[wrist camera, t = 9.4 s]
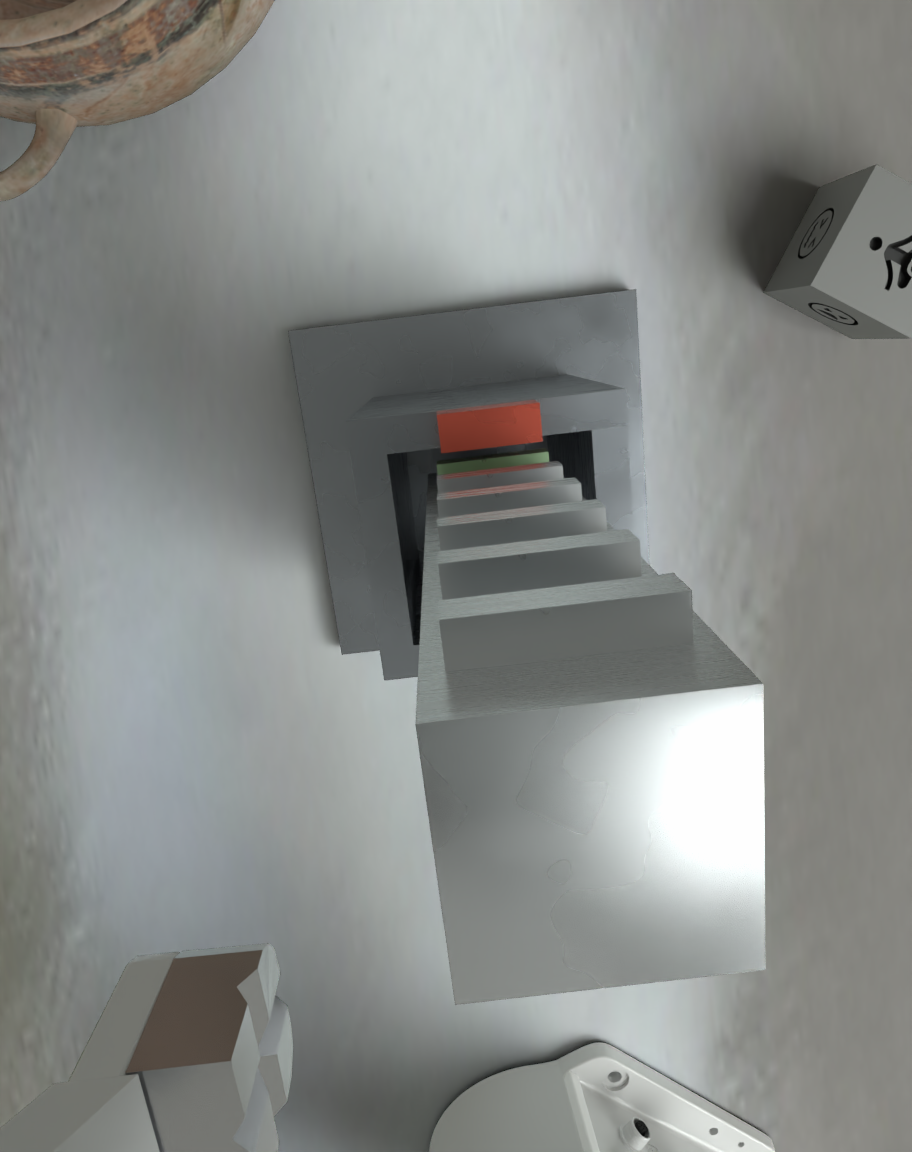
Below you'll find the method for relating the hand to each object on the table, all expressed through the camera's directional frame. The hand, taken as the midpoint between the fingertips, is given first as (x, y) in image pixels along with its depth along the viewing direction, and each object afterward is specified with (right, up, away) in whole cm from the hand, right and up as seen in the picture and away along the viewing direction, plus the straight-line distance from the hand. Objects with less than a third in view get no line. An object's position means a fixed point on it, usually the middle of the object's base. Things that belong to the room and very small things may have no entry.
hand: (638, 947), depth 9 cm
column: (-1, +6, +21) cm, 22 cm away
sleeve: (-1, +9, +31) cm, 32 cm away
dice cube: (+16, +19, +29) cm, 38 cm away
